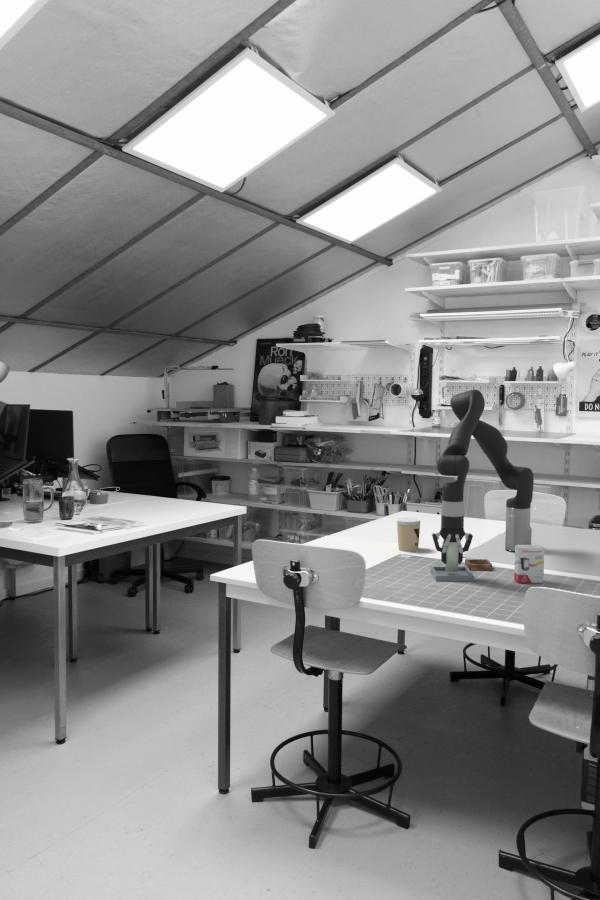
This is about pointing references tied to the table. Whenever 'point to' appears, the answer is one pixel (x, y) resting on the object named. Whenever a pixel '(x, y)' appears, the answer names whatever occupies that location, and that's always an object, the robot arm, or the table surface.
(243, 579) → the table surface
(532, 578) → the ink box
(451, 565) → the peg
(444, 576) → the tray
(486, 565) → the socket
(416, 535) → the coffee cup
